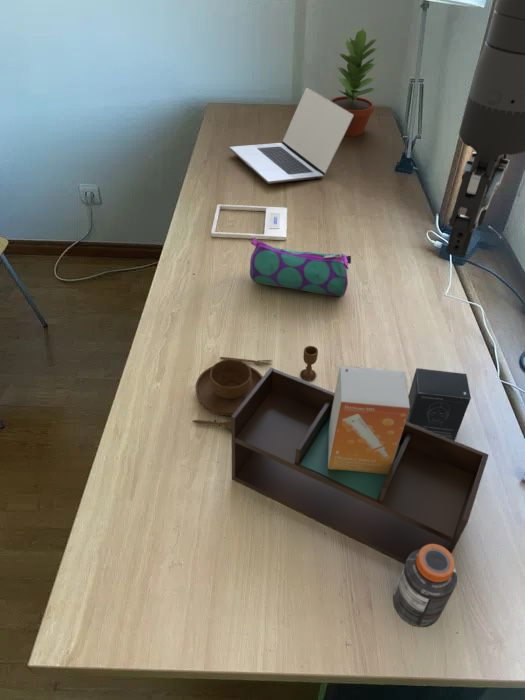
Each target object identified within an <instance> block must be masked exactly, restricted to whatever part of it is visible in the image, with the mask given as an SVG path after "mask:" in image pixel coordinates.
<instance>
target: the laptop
mask: <svg viewBox="0 0 525 700" xmlns="http://www.w3.org/2000/svg"><path fill="white" fill-rule="evenodd" d="M330 100H331V99H328V98H326V97H325V96H324V95H321V94H320V93H318V92H317V91H315V90H313V89H311V88H310V87H307V86H306V87H305V88H304V91H303V92H302V94H301V98H300V100H299V102H298V103H297V106H296V109H295V111H294V114H293V116H292V118H291V120H290V123H289V124H288V127H287V130H286V131H285V134H284V136H283V139H282V140H281V142H274V143H273V142H272V143H263V144H261V143H260V144H247V145H236V146H229V150H230V151H231V152H232V153H233V154H234V155H235V156H237V158H239V159H240V160H241V161H242V162H243V163H244V164H245V165H247V167H248V168H250V169H251V170H252V171H254V173H256V174H257V175H258V176H259V177H260V178H261V179H262V180H263V181H264V182H265V183H267V184H268V185H271V184H279V183H287V182H288V183H289V182H290V183H291V182H298V181H307V180H316V179H317V180H318V179H322V178H324V177H325V176H326V175H327V172H328V170H329V168H330V166H331V164H332V162H333V160H334V158H335V156H336V155H337V152H338V149H339V148H340V146H341V144H342V142H343V139H344V137H345V136H344V135H345V133H346V131H347V129H348V127H349V125H350V123H351V121H352V119H353V117H354V115H353V114H352V113H350V112H349V111H347V110H345V109H343V108H342V107H340V106H338V105H337V104H335V103H333V102H332V101H330Z"/></svg>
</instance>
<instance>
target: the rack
mask: <svg viewBox="0 0 525 700" xmlns="http://www.w3.org/2000/svg"><path fill="white" fill-rule="evenodd" d="M334 396H335V392H333V391H330V390H328V389H326V388H323V387H321V386H318V385H316V384H313V383H310V382H308V381H307V380H304V379H302V378H298V377H296V376H294V375H291V374H288V373H286V372H283V371H281V370H278V369H276V368H273V367H270V368H269V369H268V370H267V371H266V372H265V373H264V374H263V375H262V379H261V380H260V381H259V382H258V384H257V385H256V386H255V387H254V389H253V390H252V391H251V392H250V394H249V395H248V396H247V397H246V399H245V400H244V401H243V402H242V404H241V405H240V406H239V407H238V409H237V410H236V411H235V413H234V414H233V415H232V416H230V421H231V429H230V430H231V431H230V433H231V435H230V436H231V438H230V439H231V480H232V481H234V482H236V483H238V484H240V485H242V486H244V487H246V488H249V489H250V490H253V491H254V492H257V493H259V494H261V495H263V496H265V497H267V498H269V499H271V500H273V501H274V502H277V503H279V504H281V505H283V506H285V507H288V508H290V509H291V510H293V511H295V512H297V513H300V514H302V515H303V516H306V517H308V518H309V519H312V520H314V521H316V522H318V523H320V524H322V525H324V526H326V527H328V528H330V529H332V530H334V531H336V532H338V533H341V534H343V535H344V536H347V537H348V538H351V539H352V540H355V541H356V542H359V543H361V544H362V545H365V546H367V547H369V548H371V549H373V550H375V551H377V552H379V553H381V554H383V555H385V556H388V557H389V558H391V559H393V560H395V561H398V562H400V563H401V564H403V565H404V564H405V562H406V560H407V558H408V556H409V555H410V554H411V553H412V552H414V551H415V550H418V549H421V548H422V547H424V546H425V545H428V544H437V545H440V546H442V547H444V548H446V549H447V550H448V551H449V552H450V553H451V555H452V554H453V553H454V550H455V548H456V547H457V545H458V542H459V540H460V539H461V537H462V535H463V533H464V530H465V528H466V527H467V525H468V523H469V520H470V517H471V513H472V510H473V506H474V504H475V500H476V497H477V494H478V491H479V487H480V484H481V482H482V477H483V474H484V471H485V468H486V465H487V462H488V459H489V454H488V453H486V452H483V451H481V450H479V449H476V448H473V447H471V446H468V445H466V444H463V443H461V442H458V441H456V440H455V441H454V440H451V439H449V438H446V437H444V436H441V435H439V434H436V433H434V432H431V431H429V430H426V429H424V428H421V427H419V426H416V425H414V424H411V423H409V422H405V426H404V429H403V432H402V435H401V438H400V441H399V445H398V448H397V451H396V454H395V457H394V460H393V463H392V467H391V470H390V472H389V474H388V475H386V474H378V473H368V472H358V471H347V470H331V469H328V431H329V424H330V418H331V412H332V406H333V401H334Z"/></svg>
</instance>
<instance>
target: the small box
mask: <svg viewBox="0 0 525 700" xmlns="http://www.w3.org/2000/svg"><path fill="white" fill-rule="evenodd" d="M408 390H409V389H408V381H407V373H406V371H404V370H398V369H397V370H395V369H385V368H377V367H364V366H363V367H362V366H348V365H347V366H346V365H339V368H338V373H337V379H336V385H335V390H334V393H335V396H334V401H333V406H332V412H331V418H330V424H329V431H328V469H331V470H347V471H358V472H368V473H378V474H386V475H388V474H389V472H390V470H391V467H392V463H393V460H394V457H395V454H396V451H397V448H398V445H399V441H400V438H401V435H402V432H403V429H404V426H405V422H406V419H407V416H408V413H409V410H410V405H409V397H408V396H409V391H408Z"/></svg>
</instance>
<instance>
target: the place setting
mask: <svg viewBox="0 0 525 700" xmlns="http://www.w3.org/2000/svg"><path fill="white" fill-rule="evenodd" d="M318 356H319V349H318V348H317V347H316V346H313V345H307V346H305V347H304V349H303V356H302V357H303V358H302V359H303V362H304V363H305V364H306V367H305V368H304V369H302V370H301V371H300V373H299V374H300V375H299V376H300V377H301V379H302V380H304V381H313V380H315V379H316V377H317V373H316V371H315V370H313V366H312V365H314V364H316V362H317V360H318ZM219 359H221V360H220V361H218V362H216V363H215V364H213V365H211V366H210V367H208V368H206V369H205V370H204V371H202V372H201V374H199V376H198V378H197V380H196V382H195V395H196V398H197V400H198V401H199V402H200V405H202V406H203V407H204V408H205V409H207V410H208V411H210V412H211V413H214V414H217V415H220V416H230V417H231V416H232V415H233V414H234V413H235V411H236V410H237V409H238V407H239V406H240V405H241V404H242V402H243V401H244V400H245V399H246V397H247V396H248V395H249V394H250V392H251V391H252V390H253V389H254V387H255V386H256V385H257V384H258V382H259V381H260V380H261V379H262V377H263V375H262V374H261V373H260V371H258V369H256V368H254V367H252V366H250V365H248V364H247V363H254V364H256V365H257V366H271V365H272V363H273V360H272V359H263V360H260V359H259V360H255V359H247V358H237V357H229V356H228V357H226V356H220V357H219ZM246 362H247V363H246ZM192 423H195V424H203V425H217V426H223V427H225V429H228V430H231V420H229V421H223V422H221V421H212V420H211V421H210V420H201V419H193V420H192Z"/></svg>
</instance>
